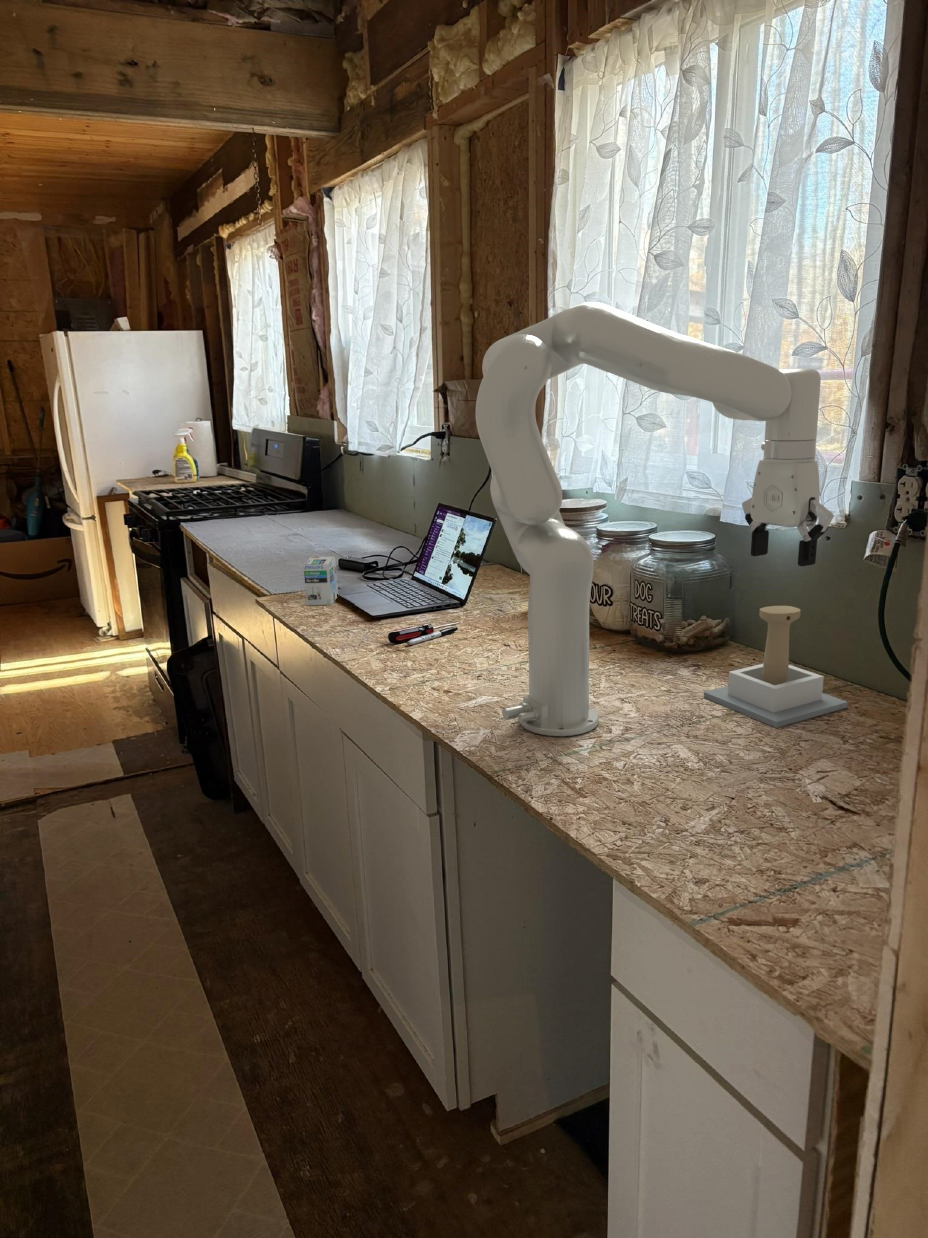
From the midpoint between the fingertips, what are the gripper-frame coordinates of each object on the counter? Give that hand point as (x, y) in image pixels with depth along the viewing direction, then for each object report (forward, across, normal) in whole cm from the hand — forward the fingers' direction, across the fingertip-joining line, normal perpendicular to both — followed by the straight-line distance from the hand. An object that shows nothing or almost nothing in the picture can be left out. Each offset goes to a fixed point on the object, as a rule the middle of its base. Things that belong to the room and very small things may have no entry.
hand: (782, 559), depth 139 cm
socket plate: (+24, 0, 0) cm, 24 cm away
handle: (+23, 0, 0) cm, 23 cm away
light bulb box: (+25, -113, -40) cm, 122 cm away
